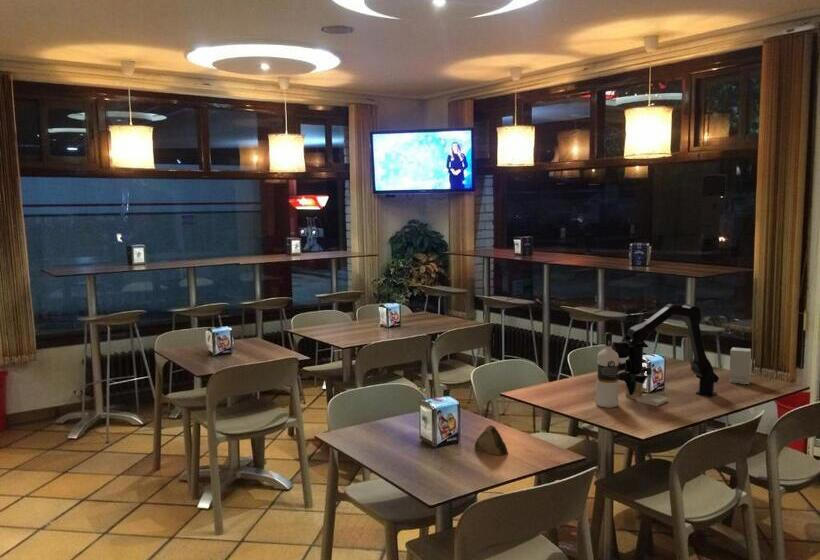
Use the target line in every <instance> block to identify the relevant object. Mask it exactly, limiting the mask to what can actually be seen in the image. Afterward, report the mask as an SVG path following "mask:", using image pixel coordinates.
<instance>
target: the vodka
mask: <svg viewBox="0 0 820 560" xmlns="http://www.w3.org/2000/svg"><path fill="white" fill-rule="evenodd" d="M604 343H605V344H604V348H603V349H601V350H599V352H598V353H597V376H596V377H597V378H596V393H595V397H594V403H595V405H597V407H600V408H604V407H605V409H613V407H614V408H616V407H618V406H619V403H620V402H619V401H620V400H619V394H618V384H619V380H618V374H619V372H618V364H619V363H618V362H619V361H620V358H619V355H618V353H617V352H615V351H614V350H613V349H612V343H613V333H612V332H605V341H604Z"/></svg>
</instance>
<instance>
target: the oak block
mask: <svg viewBox="0 0 820 560" xmlns="http://www.w3.org/2000/svg"><path fill="white" fill-rule="evenodd" d="M643 388H644V384H643V383H639V382H637V384H636V387H635V390H634V392H633V395H630V394H629V391H628V387H627V384H626V383H625V398H627V397H628V398H627V399H631V398H633V399H632V400H636V398H637V397H639V396H642V395H644V394H643V391H644V389H643Z"/></svg>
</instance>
